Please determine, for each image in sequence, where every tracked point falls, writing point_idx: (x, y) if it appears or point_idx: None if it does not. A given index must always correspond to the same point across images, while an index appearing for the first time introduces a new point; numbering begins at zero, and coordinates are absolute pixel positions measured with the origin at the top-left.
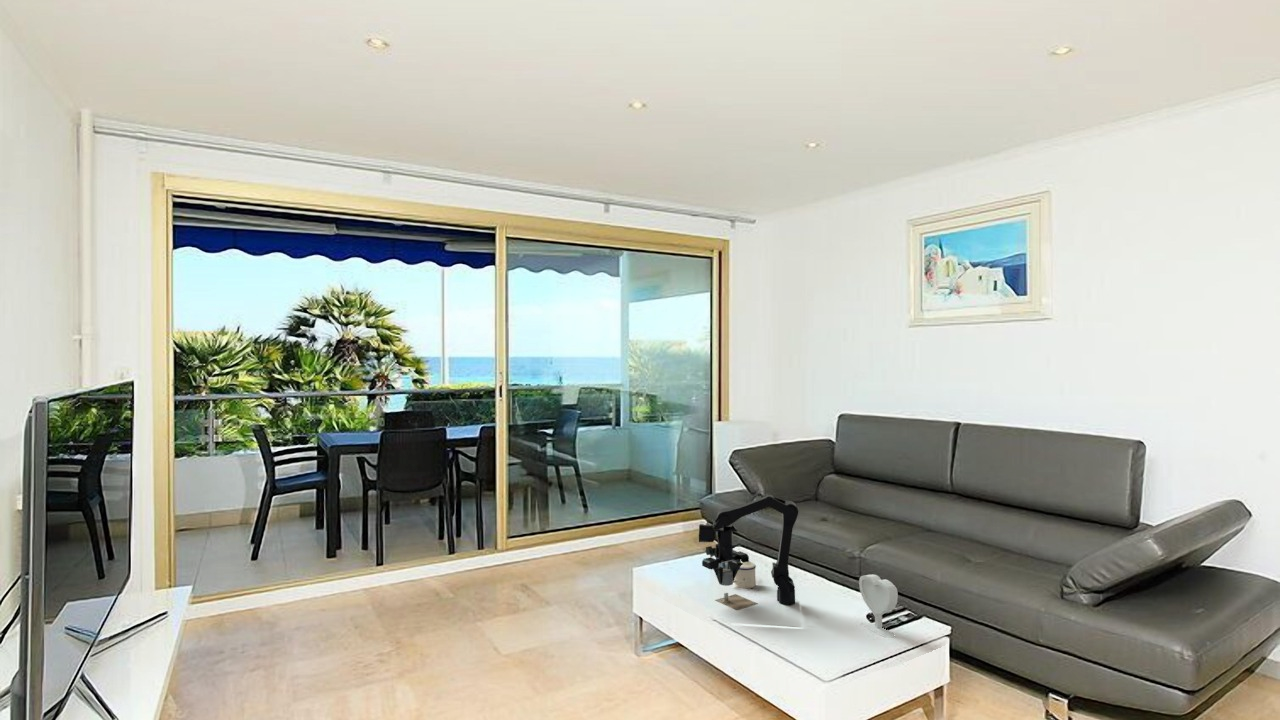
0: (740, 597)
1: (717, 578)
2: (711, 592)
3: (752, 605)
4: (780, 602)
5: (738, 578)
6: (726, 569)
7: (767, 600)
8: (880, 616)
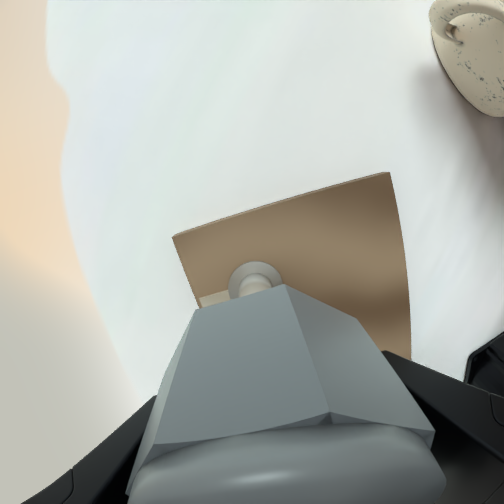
0: (388, 252)
1: (114, 438)
2: (238, 32)
3: None
4: (474, 383)
5: (483, 48)
6: (381, 500)
7: (476, 307)
8: None
